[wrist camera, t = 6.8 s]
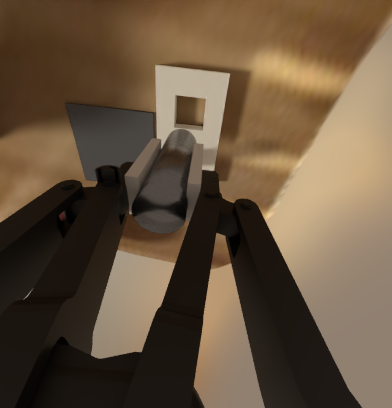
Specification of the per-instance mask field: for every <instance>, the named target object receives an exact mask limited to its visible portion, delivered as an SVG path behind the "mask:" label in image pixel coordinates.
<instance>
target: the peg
mask: <svg viewBox="0 0 392 408" xmlns="http://www.w3.org/2000/svg"><path fill="white" fill-rule="evenodd" d="M194 143H196V139H195V137H194V136H193V134H192V133H191V132H189V131H188V130H185V129H176V130H174V131H172V132H171V133H170V134H169V136H168V137H167V139H166V141H165V143H164V145H163V147H162V149H161V151H160V152H159V154H158V156H157V158H156V160H155V162H154V164H153V166H152V167H151V169H150V171H149V173H148V175H147V177H146V179H145V181H144V182H143V184H142V186H141V188H140V190H139V192H138V194H137V195H136V197H135V199H134V201H133V203H132V208H131V209H132V215H133V217H134V219H135V220H136V222H137V223H138V224H139V225H140V226H142V227H143V228H145V229H147V230H149V231H151V232H155V233H171V232H174V231H176V230H178V229H179V228H181V227H182V225H183V224H184V222H185V220H186V214H187V207H188V199H187V196H186V195H187V184H188V178H189V172H190V166H191V160H192V155H193V149H194Z"/></svg>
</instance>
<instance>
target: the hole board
mask: <svg viewBox="0 0 392 408" xmlns="http://www.w3.org/2000/svg"><path fill="white" fill-rule="evenodd" d="M155 72H156V117H157V139H161V149H162V147H163V145H164V143H165V141H166V139H167V137H168V136H169V134H170V133H171V132H172V131H174V130H176V129H185V130H188V131H189V132H191V133H192V134H193V136H194V137H195V139H196V143H198V144H204V146H203V162H202V170H210V171H214V167H215V161H216V155H217V149H218V143H219V137H220V131H221V125H222V119H223V113H224V107H225V101H226V95H227V89H228V83H229V77H230V74H229V73H225V72H217V71H208V70H200V69H192V68H183V67H175V66H166V65H155ZM177 95H179V96H188V97H196V98H205V99H206V105H205V114H204V123H203V126H195V125H186V124H177V123H176V117H177Z"/></svg>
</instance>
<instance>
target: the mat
mask: <svg viewBox="0 0 392 408" xmlns="http://www.w3.org/2000/svg"><path fill="white" fill-rule="evenodd" d="M65 104H66V108H67V112H68V115H69V119H70V123H71V126H72V130H73V134H74V137H75V141H76V145H77V149H78V152H79V156H80V160H81V163H82V167H83V171H84V174H85V178H86V180H91V181H97V178H96V173H95V169H96V168H98V167H100V166H104V165H114V166H117V167H120V166H121V165H122V164H123V163H125V162H127V161H128V162H135V161H136V159H137V158H138V157H139V155H140V154H141V152H142V151H143V150H144V148H145V147H146V146H147V144H148V143H149V142H150V140H151V139H152V138H154V113H151V112H142V111H134V110H125V109H116V108H107V107H98V106H90V105H81V104H72V103H65Z"/></svg>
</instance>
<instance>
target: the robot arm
mask: <svg viewBox="0 0 392 408" xmlns="http://www.w3.org/2000/svg"><path fill="white" fill-rule="evenodd" d="M203 146H204V144H198V143H194V149H193V155H192V160H191V166H190V172H189V178H188V184H187V195H186V196H187V199H188V207H187V214H186V220H190V222H189V225H188V228H187V231H186V234H185V237H184V240H183V243H182V246H181V249H180V252H179V255H178V258H177V261H176V264H175V267H174V270H173V273H172V276H171V279H170V282H169V284H168V287H167V290H166V293H165V296H164V299H163V302H162V305H161V307H159V308H158V310H157V311H156V314H155V316H154V319H153V321H152V324H151V327H150V330H149V333H148V336H147V338H146V341H145V344H144V347H143V350H142V352H132V353H127V354H123V355H118V356H113V357H108V358H103V359H98V358H95V357H93V356H91V351H92V336H93V330H94V326H95V323H96V320H97V316H98V313H99V310H100V306H101V303H102V299H103V296H104V293H105V289H106V286H107V283H108V279H109V276H110V272H111V269H112V266H113V262H114V259H115V256H116V252H117V249H118V245H119V242H120V239H121V235H122V232H123V229H124V225H125V222H126V219H127V215H126V211H127V209H128V207H129V214H132V209H131V208H132V203H133V201H134V199H135V197H136V195H137V194H138V192H139V190H140V188H141V186H142V184H143V182H144V181H145V179H146V177H147V175H148V173H149V171H150V169H151V167H152V166H153V164H154V162H155V160H156V158H157V156H158V154H159V152H160V151H161V139H156V138H152V139H151V140H150V142H149V143H148V144H147V146H146V147H145V148H144V150H143V151H142V152H141V154H140V155H139V157H138V158H137V159H136V161H135V162H128V161H127V162H125V163H123V164H122V165H121V166H120V167H117V166H114V165H104V166H100V167H98V168H96V169H95V173H96V178H97V182H98V183H97V185H96V186H95V187H83V186H82V183H81V182H80V181H77V180H65V181H63V182H60V183H58V184H56V185H55V186H53V187H52V188H50V189H49V190H48V191H46V192H45V193H43V194H42V195H40V196H39V197H37V198H36V199H34V200H33V201H31V202H30V203H28V204H27V205H26V206H24V207H23V208H21V209H20V210H18V211H17V212H15V213H14V214H12V215H11V216H9V217H8V218H7V219H5V220H4V221H2V222H1V223H0V408H204V405H203V403H202V401H201V399H200V397H199V395H198V393H197V391H196V390H195V388H194V379H195V372H196V366H197V359H198V353H199V347H200V340H201V333H202V326H203V314H204V308H205V301H206V295H207V288H208V281H209V276H210V270H211V263H212V257H213V250H214V244H215V238H216V233H219V234H222V235H224V236H226V242H227V247H228V251H229V255H230V260H231V264H232V269H233V273H234V277H235V281H236V286H237V290H238V295H239V299H240V304H241V308H242V313H243V317H244V321H245V326H246V330H247V334H248V339H249V343H250V348H251V352H252V356H253V361H254V365H255V370H256V374H257V379H258V383H259V387H260V391H261V395H262V399H263V402H264V406H265V408H362V407H361V406H360V404H359V403H358V401H357V400H356V399H355V397H354V396H353V395H352V394H351V392H350V391H349V389H348V388H347V385H346V383H345V381H344V379H343V377H342V375H341V373H340V372H339V369H338V367H337V365H336V363H335V361H334V359H333V358H332V355H331V353H330V351H329V349H328V347H327V345H326V343H325V341H324V339H323V337H322V335H321V333H320V331H319V329H318V327H317V325H316V323H315V321H314V319H313V317H312V315H311V313H310V311H309V309H308V307H307V305H306V302H305V300H304V298H303V297H302V294H301V292H300V290H299V288H298V286H297V284H296V282H295V280H294V279H293V276H292V274H291V272H290V270H289V268H288V266H287V264H286V262H285V260H284V258H283V256H282V254H281V252H280V250H279V248H278V246H277V244H276V242H275V240H274V238H273V236H272V234H271V232H270V230H269V228H268V226H267V224H266V222H265V220H264V218H263V216H262V213H261V211H260V209H259V207H258V206H257V204H256V203H254V202H253V201H251V200H249V199H238V200H236V201H235V203H232V202H229V201H226V200H225V199H223V198H222V194H221V193H220V191H219V179H218V174H217V173H216V172H215V171H210V170H202V162H203ZM61 213H64V216H65V217H64V218H63V219H62V220H61V219H60V217H59V215H60V214H61ZM32 289H33V290H32ZM31 290H32V291H31ZM30 291H31V293H30V294H29V296H28V297H27V298H25V297H26V296H27V295H28V293H29V292H30ZM24 298H25V299H24ZM23 299H24V300H23Z"/></svg>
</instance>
